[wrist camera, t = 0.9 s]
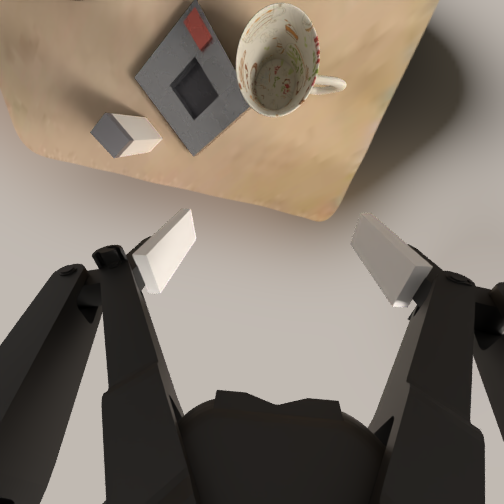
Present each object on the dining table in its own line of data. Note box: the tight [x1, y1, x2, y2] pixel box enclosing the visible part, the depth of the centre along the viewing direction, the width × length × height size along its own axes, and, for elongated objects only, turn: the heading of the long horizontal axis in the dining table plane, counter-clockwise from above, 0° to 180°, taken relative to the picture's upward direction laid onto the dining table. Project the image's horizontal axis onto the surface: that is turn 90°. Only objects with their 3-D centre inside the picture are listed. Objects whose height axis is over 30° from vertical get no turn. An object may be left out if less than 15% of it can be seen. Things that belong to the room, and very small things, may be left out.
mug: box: [236, 3, 346, 117], centre depth 23 cm, size 8×13×10 cm, turn 86°
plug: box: [90, 113, 163, 158], centre depth 29 cm, size 4×4×9 cm
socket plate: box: [135, 0, 251, 156], centre depth 28 cm, size 12×12×3 cm
